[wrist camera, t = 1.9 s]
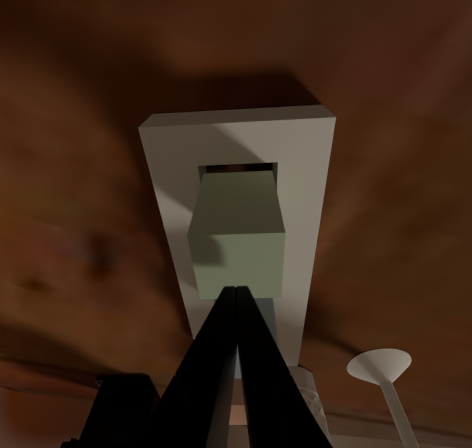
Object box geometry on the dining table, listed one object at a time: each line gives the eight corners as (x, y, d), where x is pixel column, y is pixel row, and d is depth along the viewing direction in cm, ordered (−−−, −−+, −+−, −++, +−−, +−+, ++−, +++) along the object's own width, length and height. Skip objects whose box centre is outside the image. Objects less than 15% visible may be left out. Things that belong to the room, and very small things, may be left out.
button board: (203, 341, 27) (200, 366, 25) (152, 113, 14) (138, 127, 12) (293, 340, 27) (297, 365, 25) (322, 104, 14) (335, 117, 12)
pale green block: (211, 228, 15) (200, 299, 11) (203, 173, 13) (186, 235, 9) (270, 226, 15) (281, 297, 11) (272, 170, 13) (285, 232, 9)
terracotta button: (228, 356, 24) (225, 424, 19) (225, 334, 22) (221, 405, 18) (267, 356, 23) (273, 424, 19) (268, 334, 21) (274, 404, 17)
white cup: (236, 377, 32) (235, 497, 23) (291, 353, 28) (310, 482, 20) (279, 399, 35) (290, 511, 27) (332, 379, 32) (363, 500, 23)
